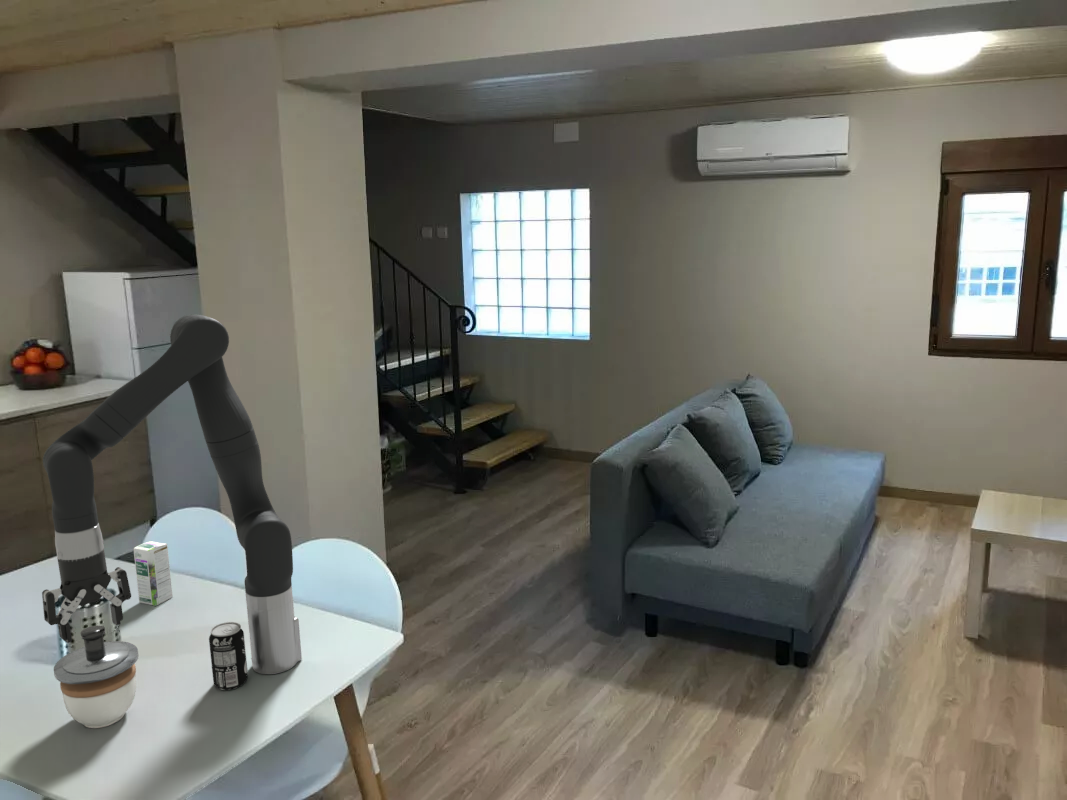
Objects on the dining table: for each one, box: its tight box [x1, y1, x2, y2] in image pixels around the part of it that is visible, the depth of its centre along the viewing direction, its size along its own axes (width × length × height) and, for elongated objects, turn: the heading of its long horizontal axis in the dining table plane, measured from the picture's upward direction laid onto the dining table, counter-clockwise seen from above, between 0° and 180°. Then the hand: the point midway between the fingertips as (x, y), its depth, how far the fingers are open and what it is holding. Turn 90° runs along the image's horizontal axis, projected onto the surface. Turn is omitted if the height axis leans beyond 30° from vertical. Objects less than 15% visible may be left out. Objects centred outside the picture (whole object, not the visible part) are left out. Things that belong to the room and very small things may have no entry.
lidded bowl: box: [59, 663, 137, 729], centre depth 156 cm, size 13×13×11 cm
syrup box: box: [133, 540, 173, 607], centre depth 206 cm, size 6×6×14 cm
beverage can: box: [208, 621, 249, 691], centre depth 167 cm, size 7×7×12 cm
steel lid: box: [53, 625, 139, 684], centre depth 154 cm, size 14×14×7 cm
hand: (92, 632), depth 154 cm, fingers open, 8 cm apart
